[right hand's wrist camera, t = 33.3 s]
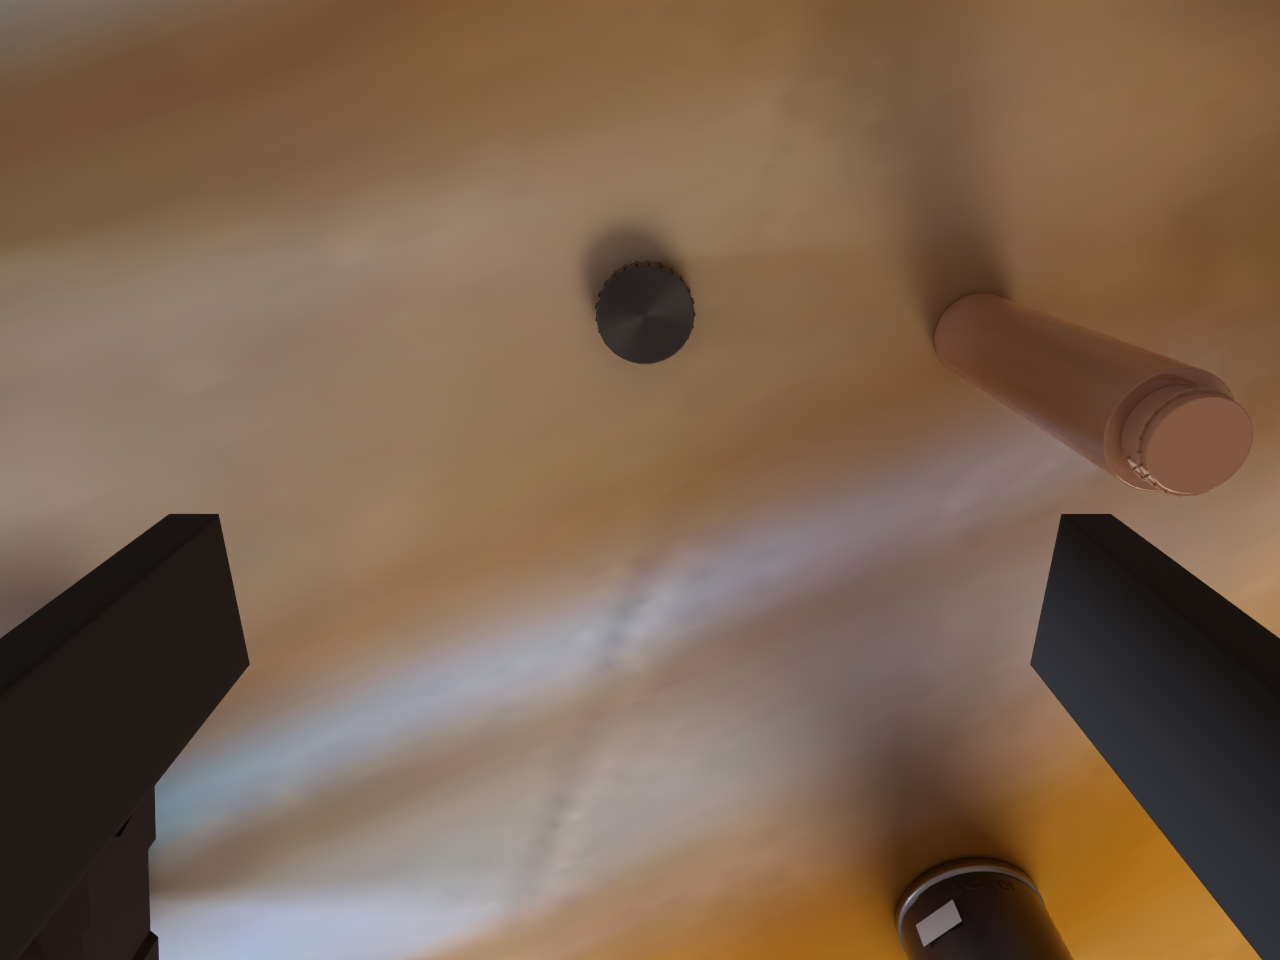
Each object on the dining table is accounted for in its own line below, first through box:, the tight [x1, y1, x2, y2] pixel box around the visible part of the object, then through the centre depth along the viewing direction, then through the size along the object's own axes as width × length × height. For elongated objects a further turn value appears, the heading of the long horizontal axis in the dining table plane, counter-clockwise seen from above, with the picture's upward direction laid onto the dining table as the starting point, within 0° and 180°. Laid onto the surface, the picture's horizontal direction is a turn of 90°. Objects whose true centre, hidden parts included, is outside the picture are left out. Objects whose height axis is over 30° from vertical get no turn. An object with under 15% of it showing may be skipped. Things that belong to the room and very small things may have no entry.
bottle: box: [934, 293, 1253, 496], centre depth 31 cm, size 4×4×17 cm
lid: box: [596, 260, 695, 364], centre depth 38 cm, size 5×5×2 cm
